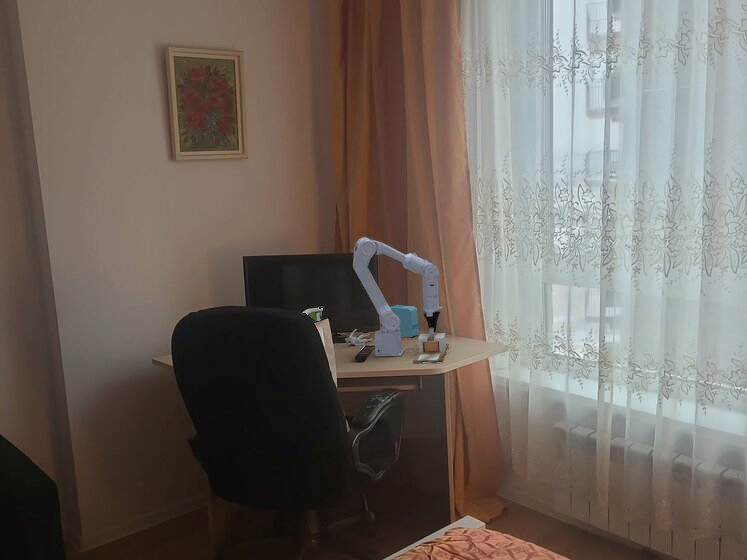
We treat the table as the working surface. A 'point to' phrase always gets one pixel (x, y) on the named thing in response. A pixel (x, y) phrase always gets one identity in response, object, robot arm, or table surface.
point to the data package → (407, 320)
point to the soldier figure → (357, 339)
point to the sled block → (431, 342)
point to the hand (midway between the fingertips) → (432, 331)
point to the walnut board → (430, 356)
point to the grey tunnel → (438, 337)
